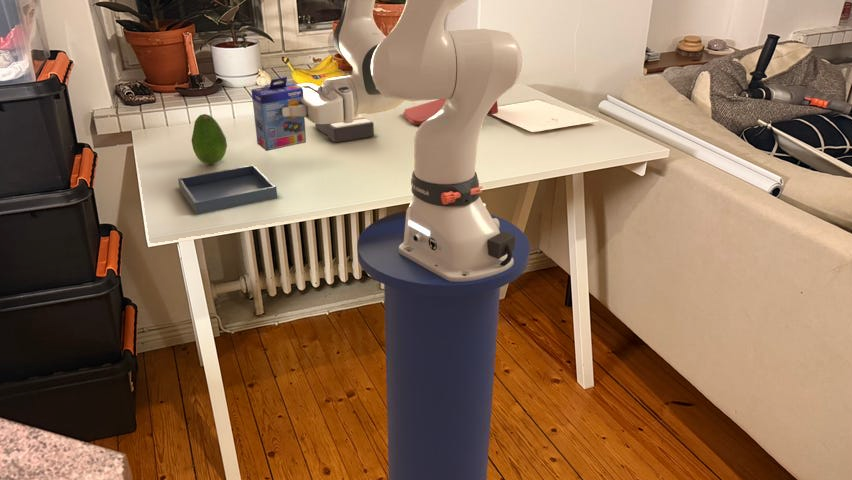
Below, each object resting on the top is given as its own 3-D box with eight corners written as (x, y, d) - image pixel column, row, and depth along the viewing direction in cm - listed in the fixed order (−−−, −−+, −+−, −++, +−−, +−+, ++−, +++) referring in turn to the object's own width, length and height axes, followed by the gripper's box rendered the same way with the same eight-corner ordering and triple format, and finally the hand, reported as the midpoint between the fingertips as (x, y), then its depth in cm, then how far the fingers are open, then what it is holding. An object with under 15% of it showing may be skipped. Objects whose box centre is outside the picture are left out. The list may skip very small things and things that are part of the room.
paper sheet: (522, 136, 179) (523, 132, 179) (476, 110, 204) (476, 106, 203) (603, 125, 185) (603, 121, 184) (548, 101, 210) (548, 97, 209)
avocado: (190, 168, 164) (182, 118, 158) (202, 157, 171) (195, 108, 165) (223, 169, 163) (216, 119, 157) (233, 158, 170) (227, 109, 164)
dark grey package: (351, 108, 192) (373, 119, 180) (352, 123, 194) (374, 136, 182) (313, 113, 188) (334, 126, 176) (315, 129, 190) (335, 142, 178)
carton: (418, 139, 190) (501, 114, 195) (416, 122, 188) (499, 97, 192) (403, 126, 200) (482, 103, 205) (400, 110, 198) (480, 87, 202)
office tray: (277, 197, 148) (276, 186, 147) (196, 214, 141) (194, 203, 140) (255, 175, 160) (254, 164, 158) (179, 189, 153) (177, 178, 152)
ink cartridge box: (267, 152, 147) (259, 83, 140) (255, 145, 151) (247, 77, 144) (308, 142, 152) (303, 75, 145) (296, 136, 156) (290, 70, 149)
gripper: (317, 74, 159) (259, 82, 154) (355, 94, 143) (291, 104, 138) (319, 101, 162) (262, 110, 157) (356, 124, 146) (294, 135, 141)
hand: (276, 108), depth 147 cm, fingers closed on ink cartridge box, 5 cm apart
